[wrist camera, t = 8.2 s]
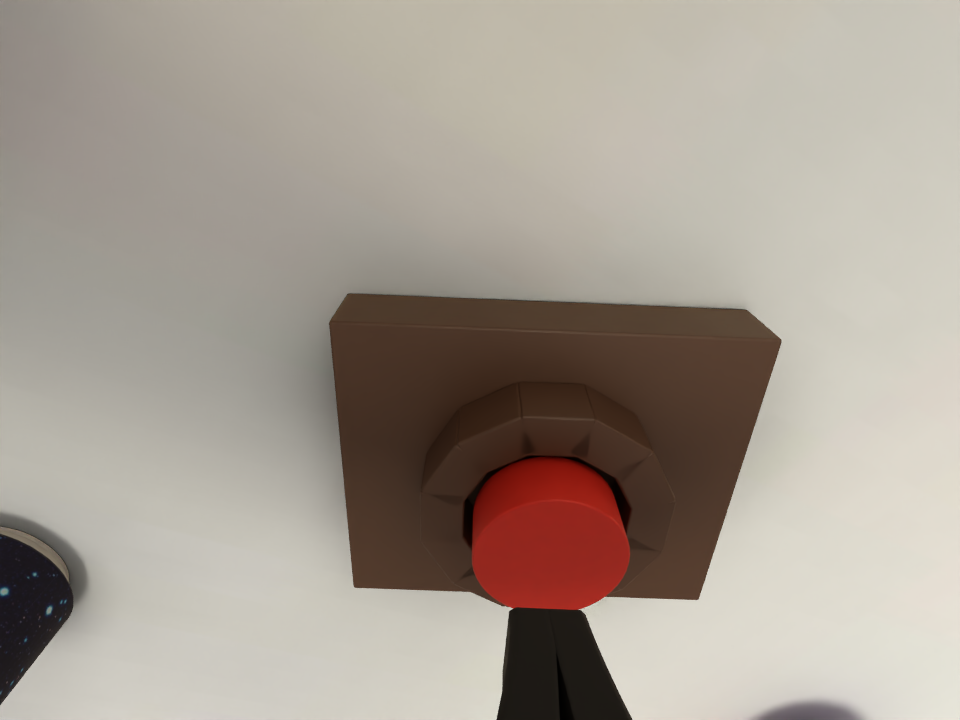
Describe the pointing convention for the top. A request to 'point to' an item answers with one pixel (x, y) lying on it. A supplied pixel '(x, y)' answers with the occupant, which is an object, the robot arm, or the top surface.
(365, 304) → the panel
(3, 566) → the beverage can
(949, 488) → the top surface
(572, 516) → the button
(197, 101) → the top surface
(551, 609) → the robot arm
